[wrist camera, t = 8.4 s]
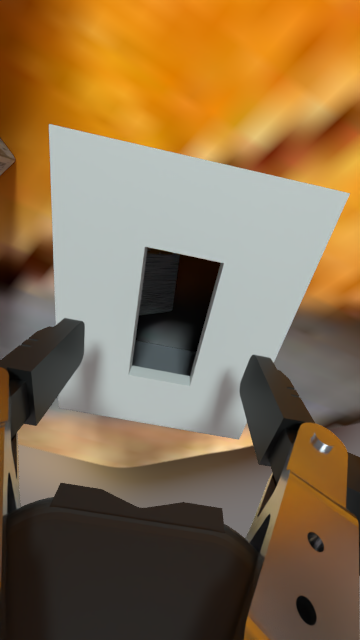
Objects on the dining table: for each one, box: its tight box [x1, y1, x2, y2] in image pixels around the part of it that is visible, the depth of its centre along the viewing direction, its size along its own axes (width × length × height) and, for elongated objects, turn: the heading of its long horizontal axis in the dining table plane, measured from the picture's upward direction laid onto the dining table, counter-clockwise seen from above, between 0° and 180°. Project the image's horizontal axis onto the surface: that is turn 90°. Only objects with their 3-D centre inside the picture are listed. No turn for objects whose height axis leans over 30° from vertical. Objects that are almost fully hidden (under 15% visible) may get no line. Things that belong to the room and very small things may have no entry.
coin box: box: [49, 124, 350, 439], centre depth 17 cm, size 16×13×9 cm
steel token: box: [139, 249, 180, 315], centre depth 19 cm, size 5×2×5 cm
